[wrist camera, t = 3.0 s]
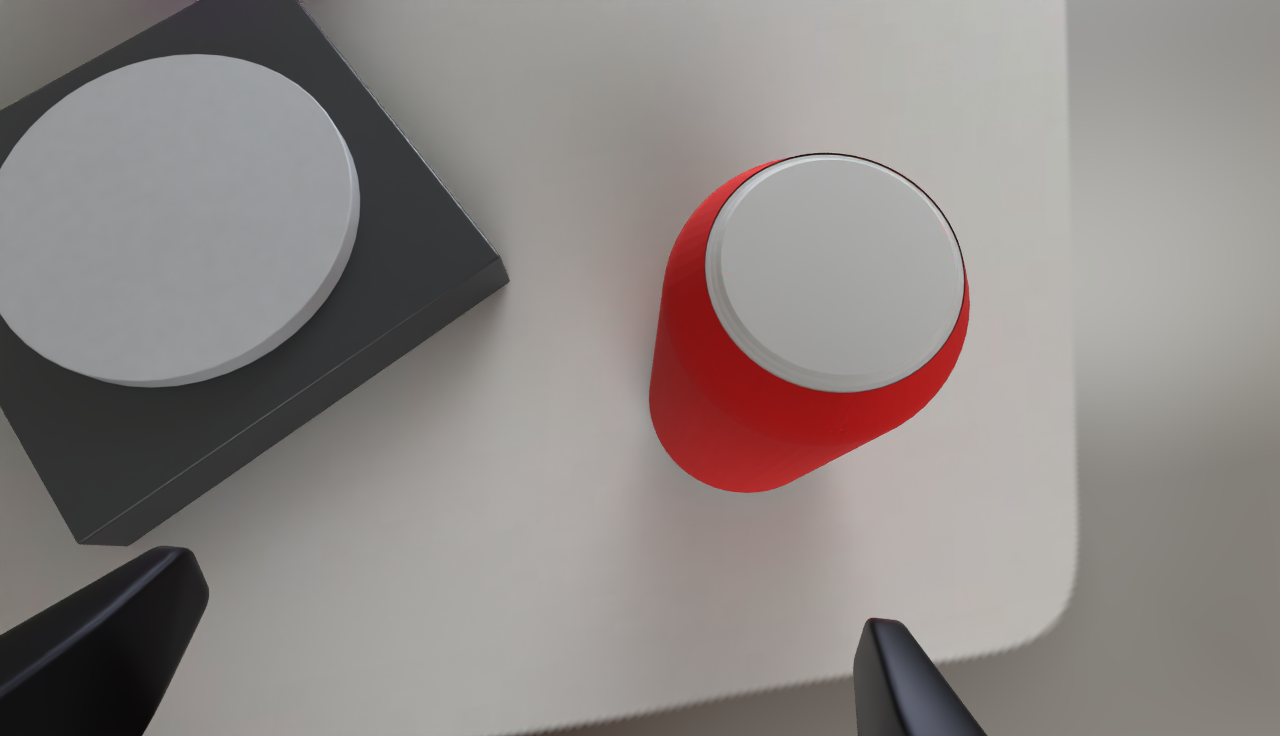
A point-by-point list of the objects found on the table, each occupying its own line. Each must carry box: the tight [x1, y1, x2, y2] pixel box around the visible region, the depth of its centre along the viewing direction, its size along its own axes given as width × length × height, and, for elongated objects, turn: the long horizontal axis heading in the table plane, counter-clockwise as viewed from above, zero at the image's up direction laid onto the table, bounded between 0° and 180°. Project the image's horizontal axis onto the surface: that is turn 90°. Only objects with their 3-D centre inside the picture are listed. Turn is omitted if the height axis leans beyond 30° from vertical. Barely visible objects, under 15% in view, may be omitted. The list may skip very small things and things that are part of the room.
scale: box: [0, 0, 510, 546], centre depth 24 cm, size 15×15×3 cm
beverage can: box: [649, 153, 970, 493], centre depth 19 cm, size 6×6×12 cm
